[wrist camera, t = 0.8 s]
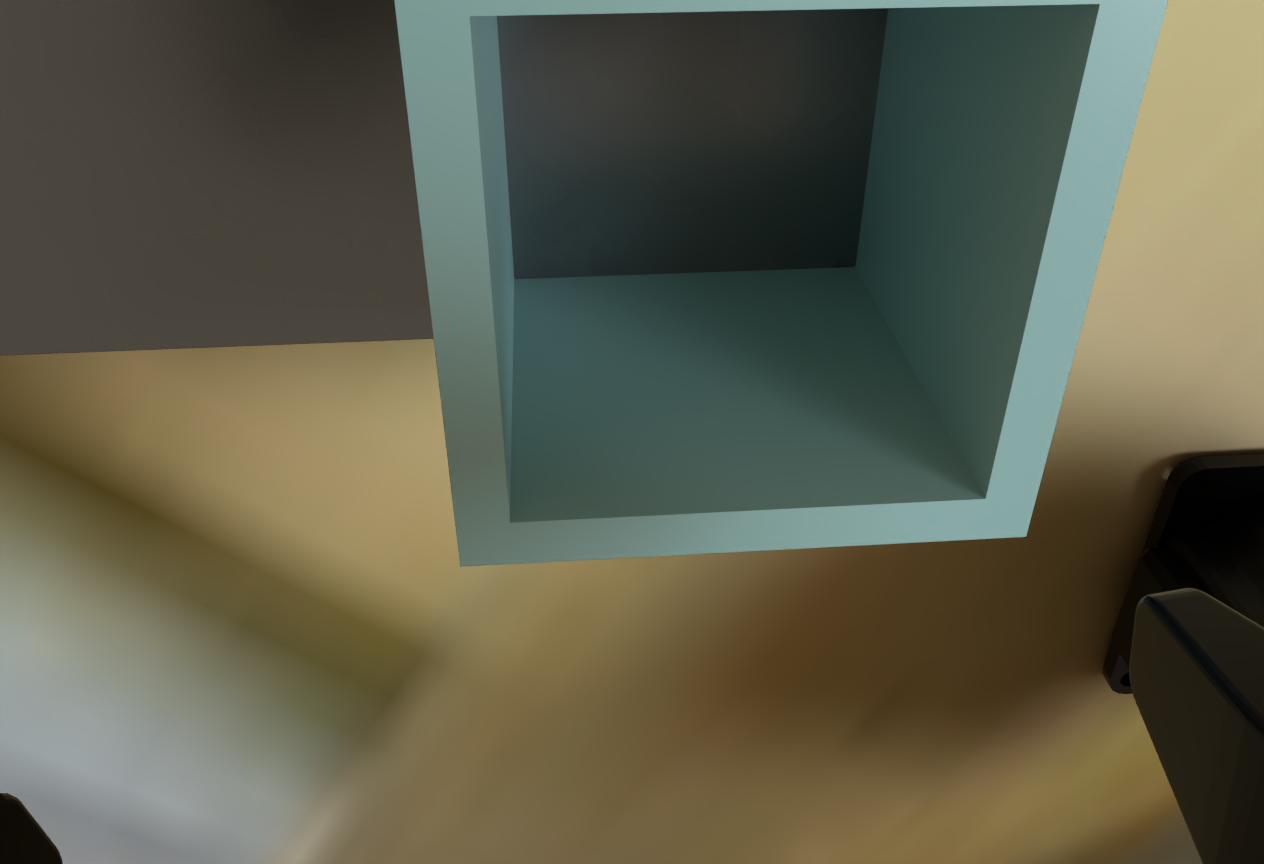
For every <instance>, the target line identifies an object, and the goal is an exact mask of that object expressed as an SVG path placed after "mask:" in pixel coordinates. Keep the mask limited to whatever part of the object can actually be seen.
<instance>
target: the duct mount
mask: <svg viewBox="0 0 1264 864" xmlns="http://www.w3.org/2000/svg"><path fill="white" fill-rule="evenodd" d="M887 15H888V8H868V9H817V10H766V11H715V12H664V13H613V14H562V15H511V16H497V26H498V41H499V56H500V71H501V87H502V102H503V117H504V132H505V147H506V162H507V177H508V192H509V207H510V222H511V237H512V252H513V267H514V279H534V278H562V277H590V276H618V275H646V274H674V273H703V272H731V271H759V270H787V269H815V268H843V267H856V259H857V251H858V243H859V235H860V228H861V220H862V212H863V204H864V196H865V188H866V180H867V172H868V165H869V157H870V149H871V141H872V133H873V125H874V117H875V110H876V102H877V94H878V86H879V78H880V70H881V62H882V54H883V47H884V39H885V31H886V23H887ZM412 339H434V337H433V328H432V319H431V311H430V302H429V294H428V285H427V276H426V268H425V259H424V250H423V242H422V233H421V225H420V216H419V207H418V199H417V190H416V182H415V173H414V165H413V156H412V147H411V139H410V130H409V121H408V113H407V104H406V96H405V87H404V78H403V70H402V61H401V53H400V44H399V35H398V27H397V18H396V10H395V1H394V0H0V356H1V355H26V354H52V353H78V352H103V351H129V350H155V349H180V348H206V347H232V346H258V345H283V344H309V343H335V342H360V341H386V340H412Z"/></svg>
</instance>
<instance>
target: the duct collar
mask: <svg viewBox="0 0 1264 864" xmlns="http://www.w3.org/2000/svg"><path fill="white" fill-rule="evenodd" d="M394 1H395V10H396V18H397V27H398V35H399V44H400V53H401V61H402V70H403V78H404V87H405V96H406V104H407V113H408V121H409V130H410V139H411V147H412V156H413V165H414V173H415V182H416V190H417V199H418V207H419V216H420V225H421V233H422V242H423V250H424V259H425V268H426V276H427V285H428V294H429V302H430V311H431V319H432V328H433V337H434V345H435V354H436V362H437V371H438V380H439V388H440V397H441V405H442V414H443V423H444V431H445V440H446V448H447V457H448V466H449V474H450V483H451V491H452V500H453V509H454V517H455V526H456V534H457V543H458V552H459V560H460V567H461V566H480V565H499V564H518V563H537V562H556V561H575V560H594V559H613V558H632V557H651V556H670V555H689V554H708V553H727V552H746V551H765V550H784V549H803V548H822V547H841V546H860V545H879V544H898V543H917V542H936V541H955V540H974V539H993V538H1012V537H1026V535H1027V532H1028V528H1029V524H1030V520H1031V516H1032V513H1033V509H1034V505H1035V501H1036V498H1037V494H1038V490H1039V486H1040V482H1041V479H1042V475H1043V471H1044V467H1045V463H1046V460H1047V456H1048V452H1049V448H1050V445H1051V441H1052V437H1053V433H1054V429H1055V426H1056V422H1057V418H1058V414H1059V410H1060V407H1061V403H1062V399H1063V395H1064V391H1065V388H1066V384H1067V380H1068V376H1069V373H1070V369H1071V365H1072V361H1073V357H1074V354H1075V350H1076V346H1077V342H1078V338H1079V335H1080V331H1081V327H1082V323H1083V320H1084V316H1085V312H1086V308H1087V304H1088V301H1089V297H1090V293H1091V289H1092V285H1093V282H1094V278H1095V274H1096V270H1097V266H1098V263H1099V259H1100V255H1101V251H1102V248H1103V244H1104V240H1105V236H1106V232H1107V229H1108V225H1109V221H1110V217H1111V213H1112V210H1113V206H1114V202H1115V198H1116V195H1117V191H1118V187H1119V183H1120V179H1121V176H1122V172H1123V168H1124V164H1125V160H1126V157H1127V153H1128V149H1129V145H1130V141H1131V138H1132V134H1133V130H1134V126H1135V123H1136V119H1137V115H1138V111H1139V107H1140V104H1141V100H1142V96H1143V92H1144V88H1145V85H1146V81H1147V77H1148V73H1149V70H1150V66H1151V62H1152V58H1153V54H1154V51H1155V47H1156V43H1157V39H1158V35H1159V32H1160V28H1161V24H1162V20H1163V17H1164V13H1165V9H1166V5H1167V1H1168V0H394ZM868 8H888V15H887V23H886V31H885V39H884V47H883V54H882V62H881V70H880V78H879V86H878V94H877V102H876V110H875V117H874V125H873V133H872V141H871V149H870V157H869V165H868V172H867V180H866V188H865V196H864V204H863V212H862V220H861V228H860V235H859V243H858V251H857V259H856V267H843V268H815V269H787V270H759V271H731V272H703V273H674V274H646V275H618V276H590V277H562V278H534V279H514V267H513V252H512V237H511V222H510V207H509V192H508V177H507V162H506V147H505V132H504V117H503V102H502V87H501V71H500V56H499V41H498V26H497V16H511V15H562V14H613V13H664V12H715V11H766V10H817V9H868Z"/></svg>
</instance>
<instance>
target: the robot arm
mask: <svg viewBox="0 0 1264 864" xmlns="http://www.w3.org/2000/svg"><path fill="white" fill-rule="evenodd" d="M1200 479H1202V480H1201V481H1200V482H1199V483H1197V484H1196V485H1193V486H1192V484H1193V483H1195V482H1196V481H1198V480H1200ZM1102 673H1103V675H1104V677H1105V678H1106V680H1107V682H1108V684H1109V685H1110V687H1111V689H1112V690H1113V691H1115V692H1117V693H1122V694H1131V693H1133V696H1134V698H1135V701H1136V704H1137V706H1138V708H1139V711H1140V713H1141V716H1142V718H1143V721H1144V723H1145V725H1146V728H1147V730H1148V733H1149V735H1150V737H1151V740H1152V742H1153V745H1154V747H1155V750H1156V752H1157V754H1158V757H1159V759H1160V762H1161V764H1162V766H1163V769H1164V771H1165V774H1166V776H1167V779H1168V781H1169V783H1170V786H1171V788H1172V791H1173V793H1174V795H1175V798H1176V800H1177V803H1178V805H1179V808H1180V810H1181V812H1182V815H1183V817H1184V820H1185V822H1186V824H1187V827H1188V829H1189V832H1190V834H1191V836H1192V839H1193V841H1194V844H1195V846H1196V849H1197V851H1198V853H1199V856H1200V858H1201V860H1202V862H1203V864H1264V454H1247V455H1226V456H1206V457H1196V458H1191V459H1188V460H1186V461H1184V462H1182V463H1180V464H1179V465H1178V466H1177V467H1176V468H1174V469H1173V470H1172V472H1171V474H1170V476H1169V477H1168V480H1167V483H1166V486H1165V488H1164V491H1163V494H1162V497H1161V500H1160V503H1159V506H1158V509H1157V512H1156V515H1155V517H1154V520H1153V523H1152V526H1151V529H1150V532H1149V535H1148V538H1147V541H1146V543H1145V546H1144V549H1143V552H1142V555H1141V556H1140V558H1139V559H1138V562H1137V565H1136V568H1135V571H1134V573H1133V576H1132V579H1131V582H1130V585H1129V588H1128V591H1127V594H1126V597H1125V600H1124V603H1123V605H1122V608H1121V611H1120V614H1119V617H1118V620H1117V623H1116V626H1115V629H1114V632H1113V634H1112V642H1111V645H1110V648H1109V651H1108V654H1107V656H1106V659H1105V662H1104V665H1103V671H1102ZM0 864H63V863H62V859H61V856H60V853H59V851H58V849H57V848H56V846H55V845H54V844H53V842H52V841H51V840H50V838H49V837H48V836H47V835H46V833H45V832H44V831H43V829H42V828H41V827H40V826H39V824H38V823H37V822H36V820H35V819H34V818H33V817H32V815H31V814H30V813H29V811H28V810H27V809H26V808H25V806H24V805H23V804H22V802H21V801H20V800H19V799H18V798H16V797H14V796H12V795H10V794H8V793H0Z"/></svg>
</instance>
